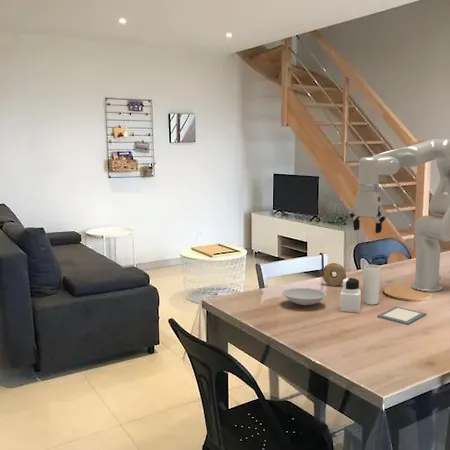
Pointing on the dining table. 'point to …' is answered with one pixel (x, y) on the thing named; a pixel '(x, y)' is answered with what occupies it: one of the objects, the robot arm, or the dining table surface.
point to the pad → (401, 315)
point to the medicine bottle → (350, 296)
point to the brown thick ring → (331, 279)
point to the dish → (304, 295)
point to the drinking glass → (371, 283)
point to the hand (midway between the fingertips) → (367, 231)
